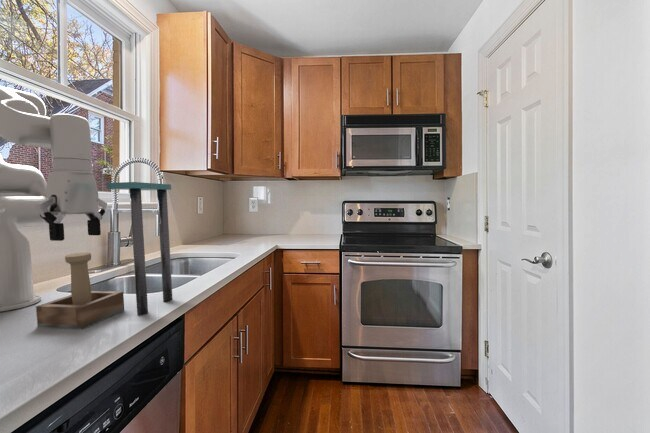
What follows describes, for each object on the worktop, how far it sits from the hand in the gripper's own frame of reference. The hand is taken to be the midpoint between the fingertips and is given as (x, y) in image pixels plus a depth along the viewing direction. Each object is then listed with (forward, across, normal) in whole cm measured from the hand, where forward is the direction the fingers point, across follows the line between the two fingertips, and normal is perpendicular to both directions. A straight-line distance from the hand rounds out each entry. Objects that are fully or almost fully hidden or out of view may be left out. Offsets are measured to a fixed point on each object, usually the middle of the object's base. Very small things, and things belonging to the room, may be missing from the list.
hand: (77, 237), depth 75 cm
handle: (+19, 0, +1) cm, 19 cm away
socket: (+20, 0, +1) cm, 20 cm away
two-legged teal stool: (+20, -9, +12) cm, 25 cm away
